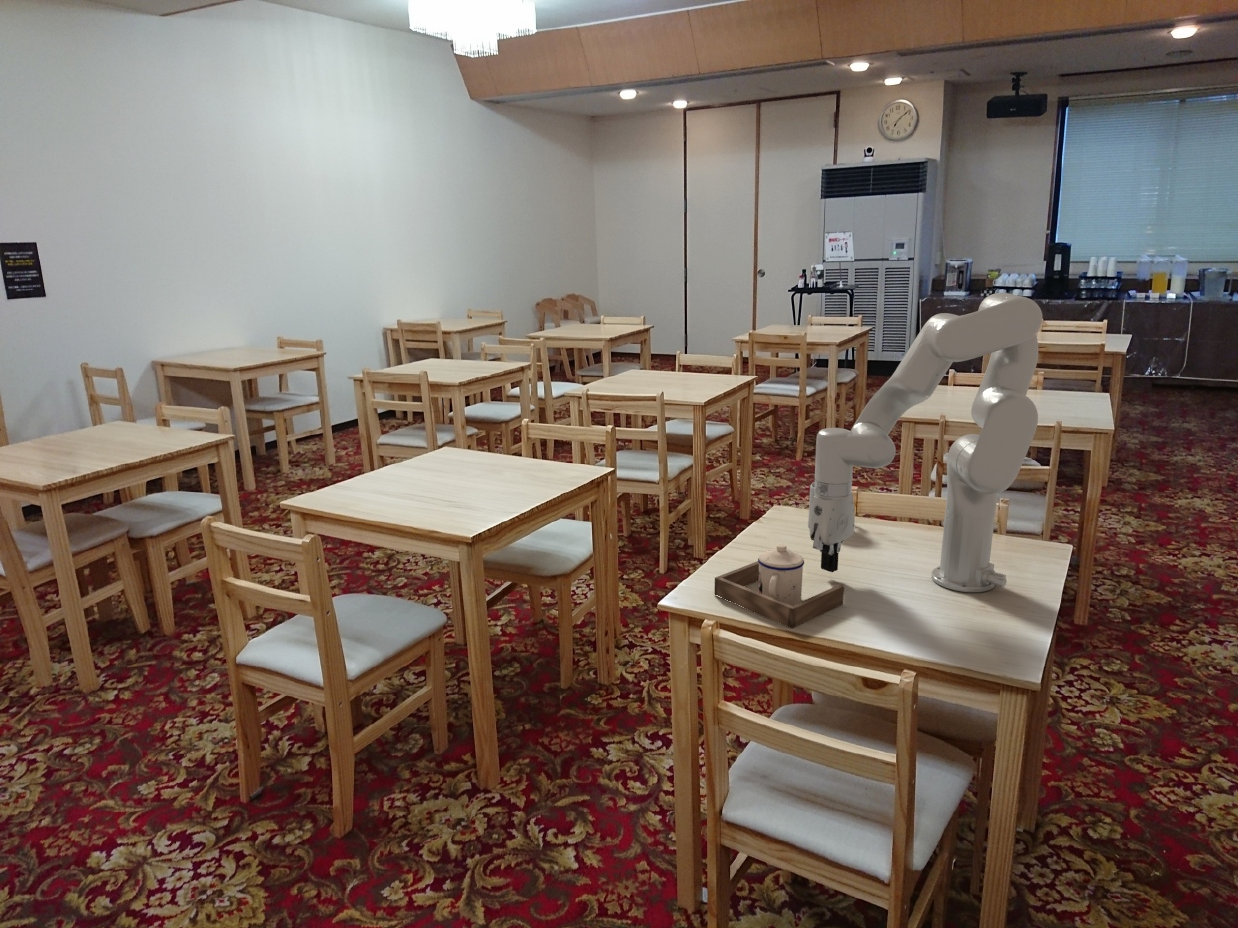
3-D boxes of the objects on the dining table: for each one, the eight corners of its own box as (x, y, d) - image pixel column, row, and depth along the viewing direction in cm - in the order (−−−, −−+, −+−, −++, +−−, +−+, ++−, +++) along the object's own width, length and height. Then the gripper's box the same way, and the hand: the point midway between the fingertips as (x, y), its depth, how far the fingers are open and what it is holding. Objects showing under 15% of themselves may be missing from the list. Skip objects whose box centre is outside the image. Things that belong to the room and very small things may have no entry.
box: (842, 604, 170) (844, 585, 169) (792, 628, 160) (793, 609, 159) (765, 575, 184) (765, 557, 183) (714, 595, 174) (714, 577, 173)
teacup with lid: (762, 587, 178) (764, 535, 175) (806, 594, 175) (809, 541, 172) (748, 610, 167) (749, 555, 164) (794, 618, 164) (796, 562, 161)
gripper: (826, 499, 169) (822, 584, 174) (869, 484, 179) (864, 565, 184) (795, 491, 175) (793, 574, 180) (839, 476, 184) (835, 556, 189)
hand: (829, 569), depth 182 cm, fingers closed
